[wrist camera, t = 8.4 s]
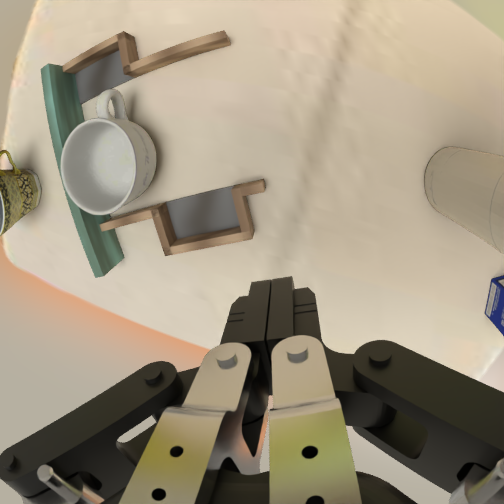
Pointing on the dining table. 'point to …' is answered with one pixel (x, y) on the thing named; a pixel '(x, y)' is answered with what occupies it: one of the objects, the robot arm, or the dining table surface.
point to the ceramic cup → (17, 194)
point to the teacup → (107, 159)
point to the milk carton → (496, 303)
